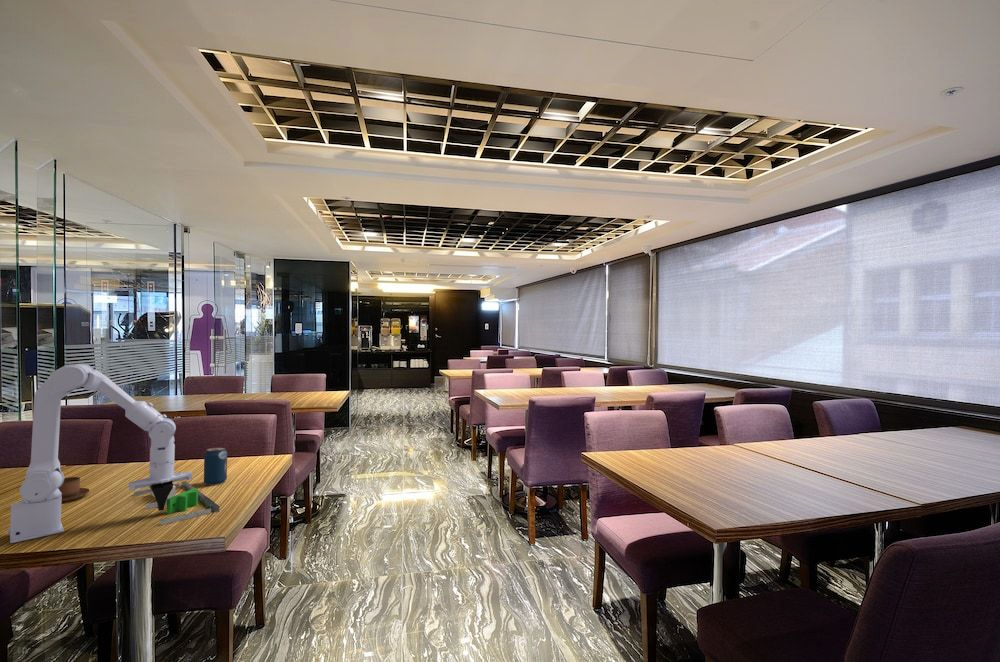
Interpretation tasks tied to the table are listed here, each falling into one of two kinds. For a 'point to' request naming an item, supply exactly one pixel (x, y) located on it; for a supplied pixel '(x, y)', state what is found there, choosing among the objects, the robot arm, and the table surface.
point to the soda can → (215, 466)
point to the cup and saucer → (72, 489)
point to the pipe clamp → (182, 501)
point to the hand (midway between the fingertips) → (161, 509)
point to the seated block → (170, 492)
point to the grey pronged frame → (201, 497)
